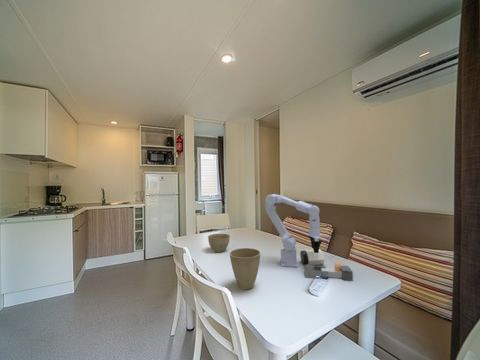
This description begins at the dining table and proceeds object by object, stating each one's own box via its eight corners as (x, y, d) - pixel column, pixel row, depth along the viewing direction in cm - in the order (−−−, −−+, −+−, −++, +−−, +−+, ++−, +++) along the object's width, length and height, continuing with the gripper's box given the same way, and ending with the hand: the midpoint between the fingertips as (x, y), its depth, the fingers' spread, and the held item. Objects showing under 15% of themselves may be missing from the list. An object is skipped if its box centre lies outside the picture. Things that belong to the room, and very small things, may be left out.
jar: (325, 263, 120) (305, 264, 120) (321, 265, 127) (302, 266, 127) (322, 247, 124) (302, 248, 124) (318, 250, 131) (299, 251, 131)
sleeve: (305, 277, 107) (305, 269, 107) (304, 271, 114) (303, 264, 114) (328, 278, 105) (327, 270, 105) (325, 273, 111) (325, 265, 112)
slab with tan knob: (322, 276, 107) (321, 263, 107) (320, 273, 110) (320, 260, 111) (349, 278, 104) (349, 265, 104) (347, 275, 108) (346, 262, 108)
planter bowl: (229, 254, 145) (229, 238, 146) (206, 254, 146) (206, 239, 146) (230, 247, 161) (230, 233, 162) (210, 247, 162) (209, 233, 162)
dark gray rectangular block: (343, 280, 103) (342, 271, 103) (339, 273, 110) (338, 265, 110) (352, 280, 102) (352, 271, 102) (348, 274, 109) (348, 265, 109)
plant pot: (262, 279, 106) (261, 248, 106) (260, 294, 91) (259, 258, 91) (233, 277, 108) (233, 247, 109) (227, 292, 94) (226, 257, 94)
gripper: (324, 229, 111) (325, 255, 111) (319, 224, 125) (320, 246, 125) (310, 229, 113) (311, 254, 112) (307, 224, 127) (308, 246, 127)
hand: (315, 250), depth 119 cm, fingers open, 7 cm apart
